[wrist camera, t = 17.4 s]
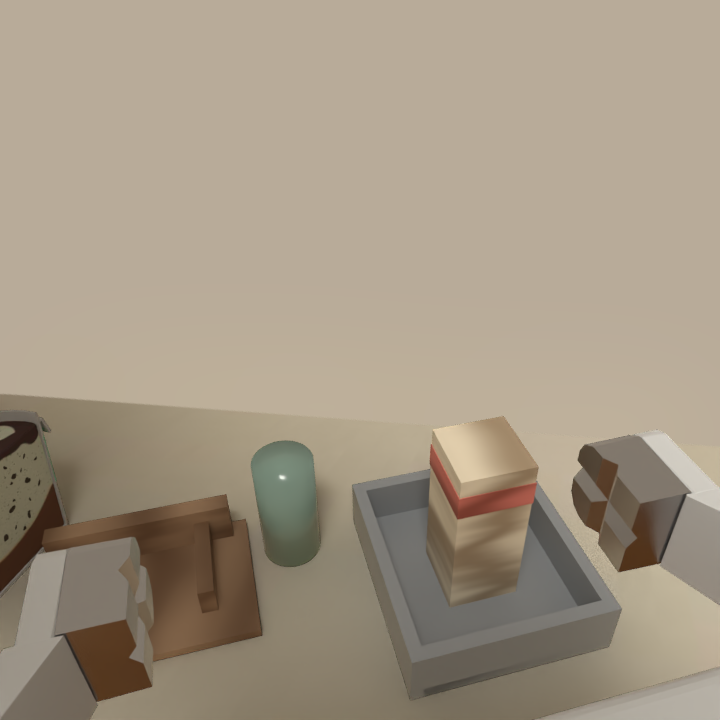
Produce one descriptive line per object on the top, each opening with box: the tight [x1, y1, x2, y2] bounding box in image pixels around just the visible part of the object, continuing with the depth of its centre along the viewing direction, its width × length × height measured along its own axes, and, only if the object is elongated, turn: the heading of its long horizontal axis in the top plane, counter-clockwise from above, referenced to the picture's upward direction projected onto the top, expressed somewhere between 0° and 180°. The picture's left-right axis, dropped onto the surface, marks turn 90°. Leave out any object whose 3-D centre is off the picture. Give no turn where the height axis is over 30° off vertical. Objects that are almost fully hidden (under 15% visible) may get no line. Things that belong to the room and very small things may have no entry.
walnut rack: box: [42, 494, 262, 661], centre depth 41 cm, size 14×9×4 cm, turn 104°
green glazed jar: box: [251, 441, 320, 567], centre depth 44 cm, size 4×4×8 cm
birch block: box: [426, 416, 539, 608], centre depth 40 cm, size 5×5×11 cm
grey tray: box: [352, 469, 622, 700], centre depth 42 cm, size 13×14×4 cm
